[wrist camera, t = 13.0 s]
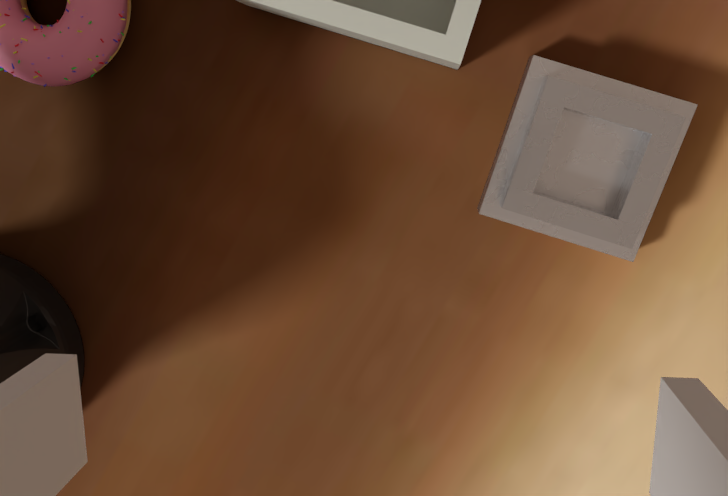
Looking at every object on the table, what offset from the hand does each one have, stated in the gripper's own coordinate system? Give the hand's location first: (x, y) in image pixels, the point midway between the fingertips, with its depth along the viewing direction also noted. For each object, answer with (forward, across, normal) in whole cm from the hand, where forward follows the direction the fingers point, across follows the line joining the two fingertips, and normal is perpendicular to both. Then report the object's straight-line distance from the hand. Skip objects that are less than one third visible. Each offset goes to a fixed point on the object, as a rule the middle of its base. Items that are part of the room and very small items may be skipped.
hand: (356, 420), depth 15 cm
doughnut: (+32, +23, -13) cm, 41 cm away
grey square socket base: (+31, -11, -3) cm, 33 cm away
